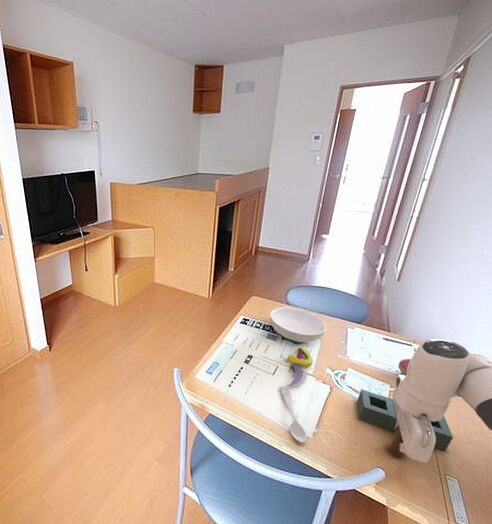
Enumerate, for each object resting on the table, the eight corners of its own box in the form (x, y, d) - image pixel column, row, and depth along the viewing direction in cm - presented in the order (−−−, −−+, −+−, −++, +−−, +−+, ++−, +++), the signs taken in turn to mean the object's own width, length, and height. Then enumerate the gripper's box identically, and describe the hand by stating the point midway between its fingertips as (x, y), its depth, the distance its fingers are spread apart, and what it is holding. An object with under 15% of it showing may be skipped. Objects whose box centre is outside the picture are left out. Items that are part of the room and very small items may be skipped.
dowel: (402, 450, 80) (415, 422, 76) (404, 460, 78) (418, 432, 74) (387, 444, 82) (399, 417, 78) (388, 454, 79) (401, 426, 75)
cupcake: (398, 367, 109) (409, 340, 105) (429, 381, 103) (442, 352, 99) (391, 378, 104) (403, 350, 100) (423, 393, 98) (437, 364, 93)
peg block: (437, 428, 86) (444, 415, 84) (445, 450, 80) (453, 437, 78) (356, 401, 95) (361, 389, 93) (358, 419, 89) (363, 406, 87)
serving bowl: (327, 354, 116) (332, 339, 113) (269, 343, 122) (272, 328, 119) (316, 324, 134) (320, 311, 131) (266, 316, 140) (268, 303, 137)
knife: (304, 397, 96) (313, 354, 115) (306, 390, 95) (315, 348, 114) (278, 386, 100) (291, 346, 119) (279, 380, 99) (292, 341, 118)
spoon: (292, 445, 81) (294, 440, 81) (276, 387, 100) (277, 383, 99) (309, 448, 80) (310, 443, 80) (289, 389, 99) (290, 385, 99)
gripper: (451, 441, 63) (427, 484, 68) (426, 379, 79) (408, 417, 85) (413, 428, 66) (392, 470, 71) (396, 370, 82) (380, 408, 88)
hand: (400, 441), depth 78 cm, fingers open, 4 cm apart
